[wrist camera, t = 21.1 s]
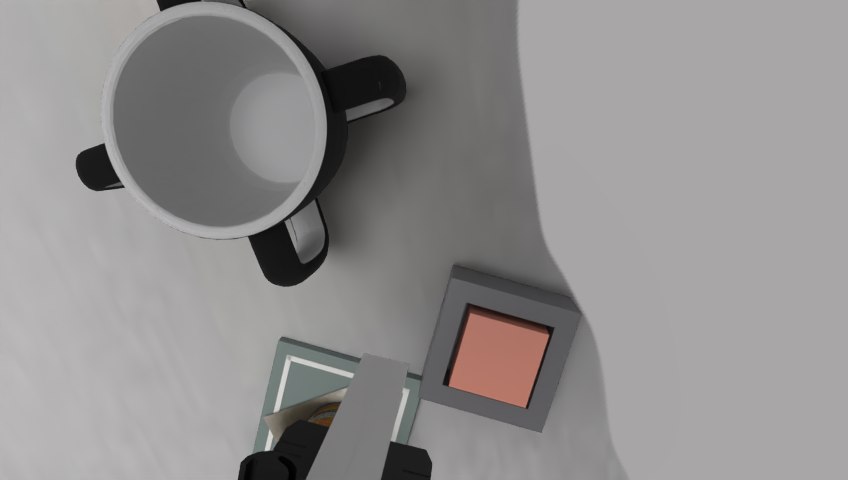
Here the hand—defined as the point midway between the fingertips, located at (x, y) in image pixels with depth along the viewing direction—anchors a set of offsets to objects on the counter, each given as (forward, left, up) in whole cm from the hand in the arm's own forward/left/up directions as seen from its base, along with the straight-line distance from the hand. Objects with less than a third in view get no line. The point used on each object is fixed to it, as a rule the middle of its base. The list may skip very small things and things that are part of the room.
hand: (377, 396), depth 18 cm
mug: (-6, -12, -24) cm, 28 cm away
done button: (+5, +7, -22) cm, 23 cm away
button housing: (+5, +7, -24) cm, 25 cm away
